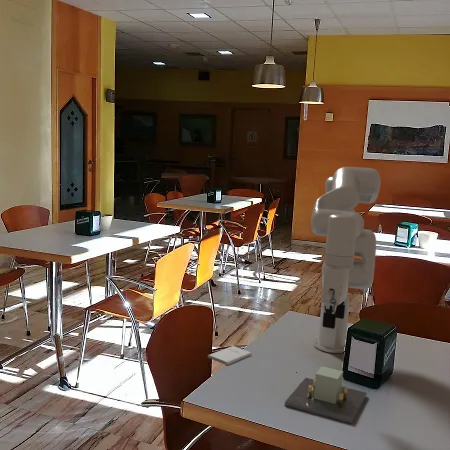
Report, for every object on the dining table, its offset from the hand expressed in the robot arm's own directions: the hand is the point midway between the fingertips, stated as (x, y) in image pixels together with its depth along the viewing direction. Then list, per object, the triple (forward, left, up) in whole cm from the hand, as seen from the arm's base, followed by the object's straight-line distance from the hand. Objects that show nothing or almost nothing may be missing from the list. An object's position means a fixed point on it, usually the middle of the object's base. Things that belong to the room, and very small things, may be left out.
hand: (333, 322), depth 145 cm
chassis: (0, 0, -22) cm, 22 cm away
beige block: (0, 0, -21) cm, 21 cm away
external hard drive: (-13, -36, -23) cm, 45 cm away
